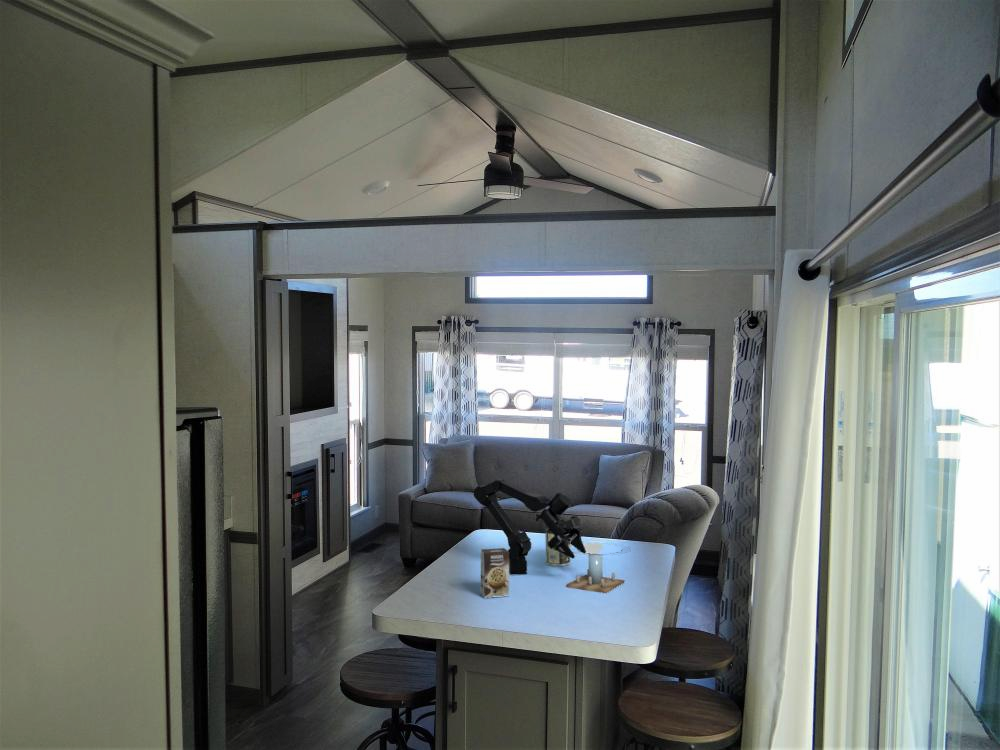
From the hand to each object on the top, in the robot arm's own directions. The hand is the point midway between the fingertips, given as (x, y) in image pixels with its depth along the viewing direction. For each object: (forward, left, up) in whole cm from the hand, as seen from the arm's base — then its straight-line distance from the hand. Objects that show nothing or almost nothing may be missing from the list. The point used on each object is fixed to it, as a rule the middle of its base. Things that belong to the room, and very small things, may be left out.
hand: (579, 555), depth 298 cm
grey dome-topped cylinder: (+5, -5, -9) cm, 11 cm away
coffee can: (+1, +30, -10) cm, 32 cm away
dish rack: (+5, -5, -10) cm, 12 cm away
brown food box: (-34, -9, -10) cm, 37 cm away
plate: (+26, +49, -11) cm, 57 cm away
